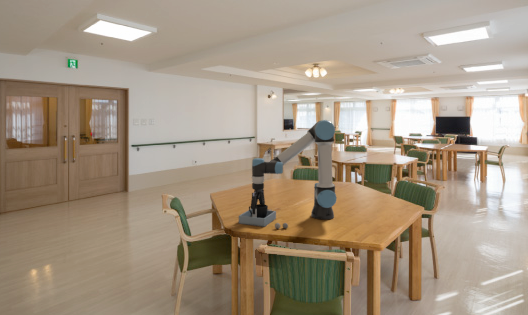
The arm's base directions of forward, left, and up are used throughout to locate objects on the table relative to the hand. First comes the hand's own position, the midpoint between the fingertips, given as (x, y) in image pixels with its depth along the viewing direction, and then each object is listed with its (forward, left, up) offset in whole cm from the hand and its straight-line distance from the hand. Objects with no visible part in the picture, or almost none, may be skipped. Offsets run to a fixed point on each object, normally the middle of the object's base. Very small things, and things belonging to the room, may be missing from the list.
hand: (257, 216), depth 210 cm
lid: (+4, -19, -3) cm, 20 cm away
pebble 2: (-21, +7, -3) cm, 22 cm away
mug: (0, +1, -2) cm, 2 cm away
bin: (0, 0, -3) cm, 3 cm away
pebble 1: (-17, +10, -3) cm, 20 cm away
